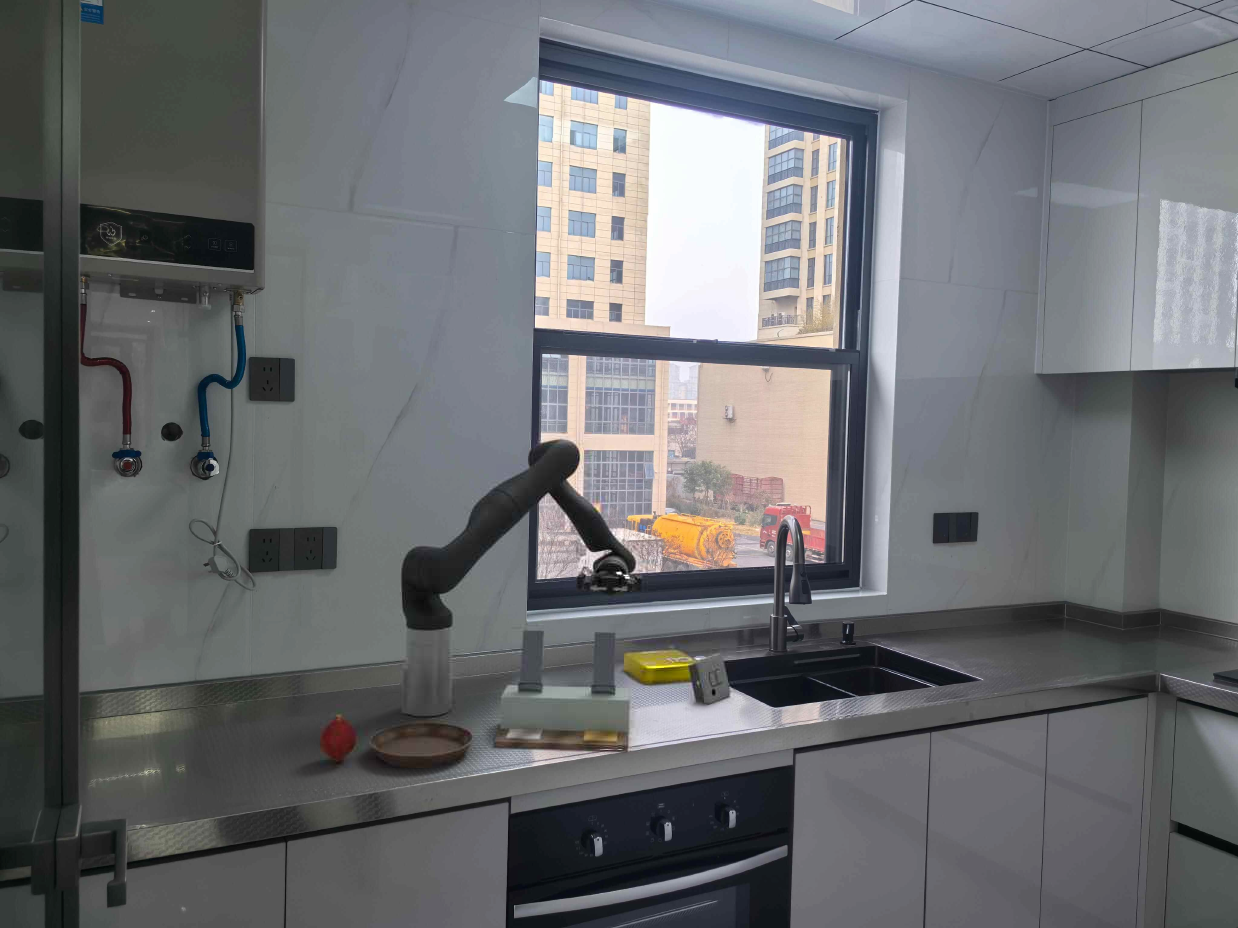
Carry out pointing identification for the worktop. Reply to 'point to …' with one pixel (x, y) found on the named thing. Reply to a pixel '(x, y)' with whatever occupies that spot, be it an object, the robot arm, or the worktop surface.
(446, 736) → the plant saucer
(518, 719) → the block
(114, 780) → the worktop surface
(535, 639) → the left lever
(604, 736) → the brown rectangular board
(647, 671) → the element tile
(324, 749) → the onion
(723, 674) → the electrical switch
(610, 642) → the right lever
